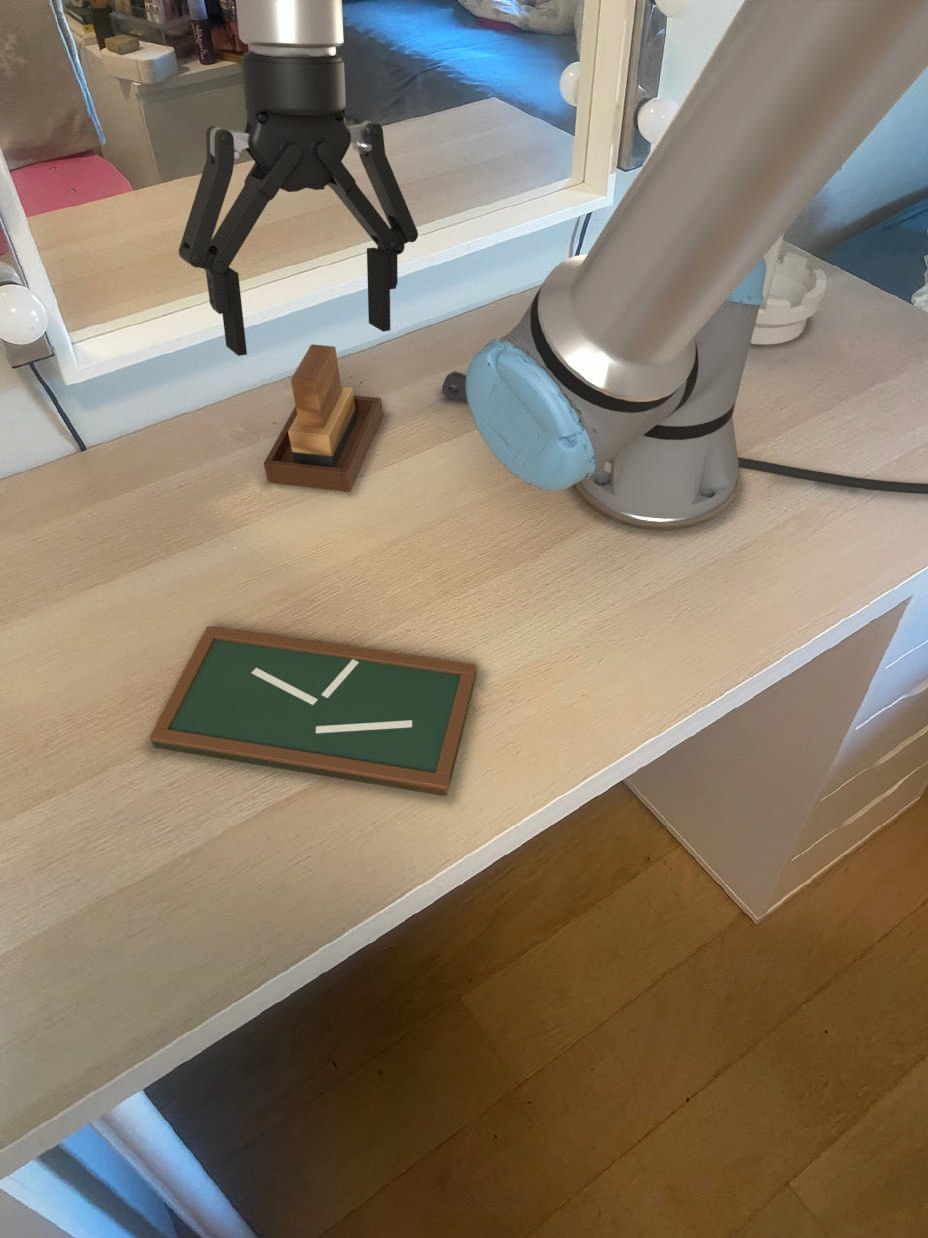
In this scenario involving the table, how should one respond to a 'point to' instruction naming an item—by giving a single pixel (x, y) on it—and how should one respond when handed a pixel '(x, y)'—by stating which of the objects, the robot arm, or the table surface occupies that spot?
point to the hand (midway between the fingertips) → (310, 338)
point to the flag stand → (787, 297)
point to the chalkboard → (320, 709)
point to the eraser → (320, 409)
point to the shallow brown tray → (348, 464)
